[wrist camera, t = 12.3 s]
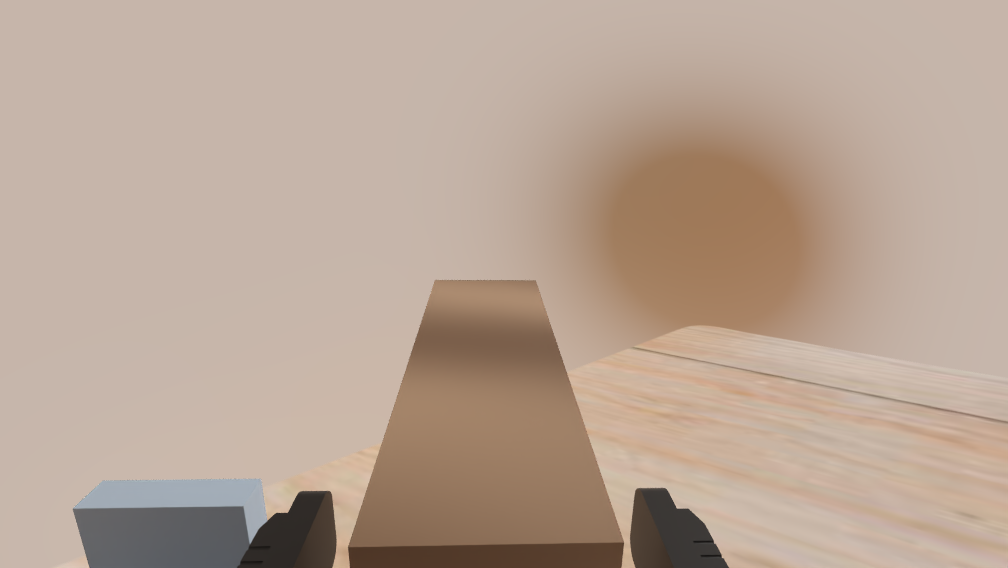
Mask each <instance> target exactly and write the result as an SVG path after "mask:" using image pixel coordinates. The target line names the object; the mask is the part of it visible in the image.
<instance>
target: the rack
mask: <svg viewBox="0 0 1008 568" xmlns="http://www.w3.org/2000/svg"><path fill="white" fill-rule="evenodd" d="M73 512H74V515H75V518H76V522H77V525H78V529H79V532H80V536H81V539H82V543H83V546H84V550H85V553H86V557H87V560H88V564H89V567H90V568H237V566H238V565H240V561H241V559H242V558H243V556H244V554H245V552H246V550H248V549H249V545H250V543H251V542H252V540H253V538H254V536H255V535H256V533H257V531H258V529H259V528H260V527H261V526H262V525H263V524H265V523H266V522H267V515H266V509H265V502H264V496H263V489H262V482H261V479H207V480H206V479H203V480H202V479H201V480H122V481H121V480H120V481H102V482H101V483H100V484H99V485H98V486H97V487H96V488H94V489H93V490H92V491H91V492H90V493H89V494H88V495H87V496H86V497H85V498H84V499H83V500H81V501H80V502H79V503H78V504H77V505H76V506H75V507H74V508H73Z"/></svg>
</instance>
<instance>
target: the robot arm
mask: <svg viewBox="0 0 1008 568" xmlns="http://www.w3.org/2000/svg"><path fill="white" fill-rule="evenodd" d="M630 544H631V552H632V557H633V561H634V564H635V567H636V568H729V567H728V565H727V564H726V562H725V560H724V558H722V555H721V553H720V551H719V549H718V547H717V546H716V544H714V540H713V538H712V537H711V535H710V533H709V531H708V529H707V528H706V526H705V524H704V523H703V522H702V521H701V520H700V519H699V518H698V517H697V516H696V515H694V514H693V513H692V512H691V511H690V510H689V509H677V508H676V506H675V504H674V502H673V500H672V498H671V496H670V494H669V492H668V491H667V489H665V488H638V489H636V491H635V497H634V506H633V515H632V524H631V533H630ZM335 553H336V530H335V520H334V510H333V501H332V494H331V492H330V491H301V492H299V493H298V495H297V496H296V498H295V500H294V502H293V504H292V506H291V508H290V510H289V512H288V513H276V514H274V515H273V516H272V517H271V518H270V519H269V520H268V521H267V522H266V523H265V524H263V525H262V526H261V527H260V528H259V529H258V531H257V533H256V535H255V536H254V538H253V540H252V542H251V543H250V545H249V549H248V550H246V552H245V554H244V556H243V558H242V559H241V561H240V565H238V566H237V568H332V566H333V563H334V559H335Z"/></svg>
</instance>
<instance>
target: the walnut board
mask: <svg viewBox="0 0 1008 568" xmlns="http://www.w3.org/2000/svg"><path fill="white" fill-rule="evenodd" d="M623 547H624V541H623V538H622V535H621V532H620V529H619V526H618V523H617V520H616V517H615V514H614V511H613V508H612V505H611V502H610V499H609V496H608V494H607V491H606V488H605V485H604V482H603V479H602V476H601V473H600V470H599V467H598V464H597V461H596V458H595V455H594V452H593V449H592V446H591V443H590V440H589V437H588V434H587V431H586V428H585V425H584V422H583V419H582V416H581V413H580V411H579V408H578V405H577V402H576V399H575V396H574V393H573V390H572V387H571V384H570V381H569V378H568V375H567V372H566V369H565V366H564V363H563V360H562V357H561V354H560V351H559V349H558V345H557V342H556V339H555V337H554V333H553V331H552V328H551V325H550V322H549V319H548V316H547V313H546V310H545V307H544V304H543V301H542V298H541V295H540V292H539V289H538V286H537V284H536V281H523V280H521V281H518V280H517V281H516V280H515V281H514V280H435V282H434V285H433V288H432V291H431V294H430V297H429V300H428V303H427V306H426V309H425V313H424V316H423V319H422V322H421V325H420V328H419V331H418V334H417V337H416V341H415V343H414V346H413V350H412V353H411V356H410V359H409V362H408V365H407V368H406V371H405V374H404V377H403V380H402V383H401V386H400V390H399V392H398V395H397V399H396V402H395V405H394V408H393V411H392V414H391V417H390V420H389V423H388V426H387V430H386V433H385V435H384V439H383V442H382V445H381V448H380V451H379V454H378V457H377V460H376V463H375V466H374V469H373V472H372V475H371V478H370V482H369V485H368V488H367V491H366V494H365V497H364V500H363V503H362V506H361V509H360V512H359V515H358V518H357V522H356V525H355V528H354V531H353V534H352V537H351V540H350V543H349V546H348V551H349V561H350V568H621V566H622V556H623Z"/></svg>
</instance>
